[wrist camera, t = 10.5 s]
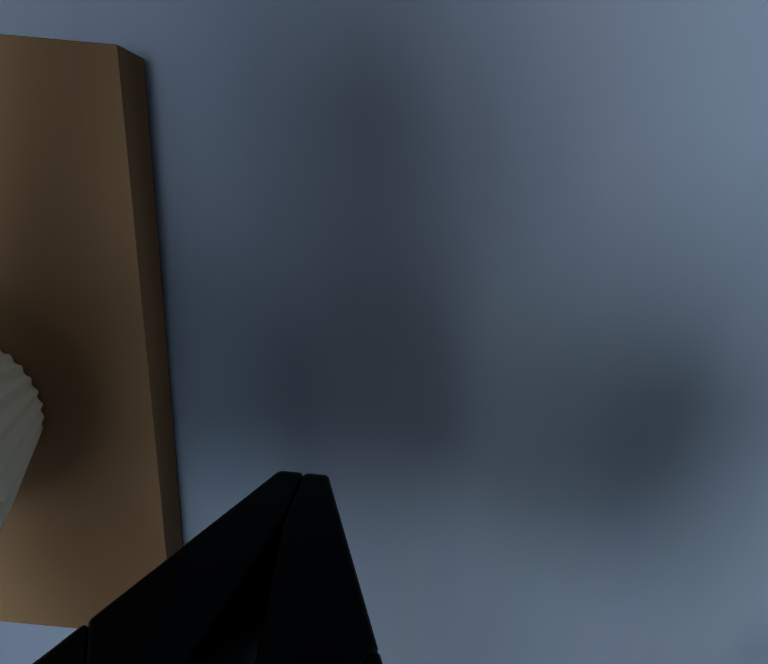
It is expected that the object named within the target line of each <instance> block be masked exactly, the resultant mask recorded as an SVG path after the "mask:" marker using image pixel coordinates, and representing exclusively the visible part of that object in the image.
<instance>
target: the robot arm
mask: <svg viewBox="0 0 768 664" xmlns="http://www.w3.org/2000/svg"><path fill="white" fill-rule="evenodd" d="M377 652H378V647H377V644H376V640H375V637H374V633H373V630H372V626H371V623H370V619H369V616H368V613H367V609H366V606H365V602H364V599H363V595H362V592H361V588H360V585H359V581H358V578H357V574H356V571H355V567H354V564H353V560H352V557H351V553H350V550H349V547H348V543H347V540H346V536H345V533H344V529H343V526H342V522H341V519H340V515H339V512H338V508H337V505H336V501H335V498H334V494H333V491H332V487H331V484H330V480H329V478H328V476H326V475H319V474H309V473H308V474H305V475H304V476H303V475H302V474H301V473H298V472H288V471H280V472H278V473H276V474H275V475H273V476H272V477H271V478H270V479H268V480H267V481H266V482H265V483H263V484H262V485H261V486H259V487H258V488H257V489H256V490H254V491H253V492H252V493H251V494H249V495H248V496H247V497H245V498H244V499H243V500H242V501H240V502H239V503H238V504H237V505H235V506H234V507H233V508H231V509H230V510H229V511H228V512H226V513H225V514H224V515H222V516H221V517H220V518H219V519H217V520H216V521H215V522H214V523H212V524H211V525H210V526H208V527H207V528H206V529H205V530H203V531H202V532H201V533H200V534H198V535H197V536H196V537H194V538H193V539H192V540H191V541H189V542H188V543H187V544H186V545H184V546H183V547H182V548H180V549H179V550H178V551H177V552H175V553H174V554H173V555H172V556H170V557H169V558H168V559H166V560H165V561H164V562H163V563H161V564H160V565H159V566H157V567H156V568H155V569H154V570H152V571H151V572H150V573H149V574H147V575H146V576H145V577H143V578H142V579H141V580H140V581H138V582H137V583H136V584H135V585H133V586H132V587H131V588H129V589H128V590H127V591H126V592H124V593H123V594H122V595H121V596H119V597H118V598H117V599H115V600H114V601H113V602H112V603H110V604H109V605H108V606H106V607H105V608H104V609H103V610H101V611H100V612H99V613H98V614H96V615H95V616H94V617H92V618H91V619H90V620H89V623H88V626H86V625H82V626H81V627H79V628H78V629H77V630H76V631H74V632H73V633H72V634H70V635H69V636H68V637H67V638H65V639H64V640H63V641H61V642H60V643H59V644H58V645H56V646H55V647H54V648H53V649H51V650H50V651H49V652H47V653H46V654H45V655H43V656H42V657H41V658H39V659H38V660H37V661H35V662H34V663H33V664H383V663H382V660H381V657H380V654H378V653H377Z"/></svg>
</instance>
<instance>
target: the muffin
mask: <svg viewBox="0 0 768 664" xmlns="http://www.w3.org/2000/svg"><path fill="white" fill-rule="evenodd" d="M31 383H32V379H31V377H29V376H27V375H25V373H24V372H23V367H22V365H19V364H16V363H15V362H14V361H13V358H12V356H11V355H10V354H4V353H2V352H1V350H0V533H1V531H2V529H3V526H4V524H5V521H6V519H7V517H8V514H9V512H10V510H11V507H12V505H13V502H14V500H15V498H16V495H17V493H18V490H19V488H20V485H21V482H22V480H23V477H24V475H25V472H26V470H27V467H28V465H29V462H30V460H31V457H32V455H33V452H34V450H35V448H36V445H37V443H38V440H39V438H40V434H41V432H42V429H43V426H42V422H43V419H44V415H43V413H42V411H41V408H42V406H43V403H42V402H41V401H40V400H39V399H38V397H37V395H38V393H39V391H38V390H37V389H36V388H34V387H33V386H32V384H31Z"/></svg>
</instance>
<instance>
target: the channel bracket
mask: <svg viewBox="0 0 768 664" xmlns="http://www.w3.org/2000/svg"><path fill="white" fill-rule="evenodd" d="M0 350H1V352H2V353H4V354H10V355H11V356H12V358H13V361H14V362H15V363H16V364H19V365H22V367H23V372H24V373H25V375H27V376H29V377H31V379H32V383H31V384H32V386H33V387H34V388H36V389H37V390H38V391H39V393H38V395H37V397H38V399H39V400H40V401H41V402H42V403H43V406H42V408H41V411H42V413H43V415H44V419H43V422H42V426H43V429H42V432H41V434H40V438H39V440H38V443H37V445H36V448H35V450H34V452H33V455H32V457H31V460H30V462H29V465H28V467H27V470H26V472H25V475H24V477H23V480H22V482H21V485H20V488H19V490H18V493H17V495H16V498H15V500H14V502H13V505H12V507H11V510H10V512H9V514H8V517H7V519H6V521H5V524H4V526H3V529H2V531H1V533H0V621H6V622H17V623H27V624H38V625H49V626H59V627H70V628H79V627H81V626H82V625H86V626H88V623H89V620H90V619H91V618H92V617H94V616H95V615H96V614H98V613H99V612H100V611H101V610H103V609H104V608H105V607H106V606H108V605H109V604H110V603H112V602H113V601H114V600H115V599H117V598H118V597H119V596H121V595H122V594H123V593H124V592H126V591H127V590H128V589H129V588H131V587H132V586H133V585H135V584H136V583H137V582H138V581H140V580H141V579H142V578H143V577H145V576H146V575H147V574H149V573H150V572H151V571H152V570H154V569H155V568H156V567H157V566H159V565H160V564H161V563H163V562H164V561H165V560H166V559H168V558H169V557H170V556H172V555H173V554H174V553H175V552H177V551H178V550H179V549H180V548H182V547H183V542H182V530H181V517H180V505H179V492H178V480H177V467H176V455H175V443H174V430H173V418H172V405H171V393H170V380H169V368H168V355H167V343H166V330H165V318H164V306H163V293H162V281H161V268H160V256H159V243H158V231H157V218H156V206H155V193H154V181H153V169H152V156H151V144H150V131H149V119H148V106H147V94H146V81H145V69H144V59H143V58H141V57H139V56H137V55H135V54H133V53H131V52H130V51H128V50H126V49H124V48H122V47H120V46H118V45H114V44H103V43H91V42H80V41H69V40H58V39H47V38H36V37H25V36H14V35H2V34H0Z"/></svg>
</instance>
